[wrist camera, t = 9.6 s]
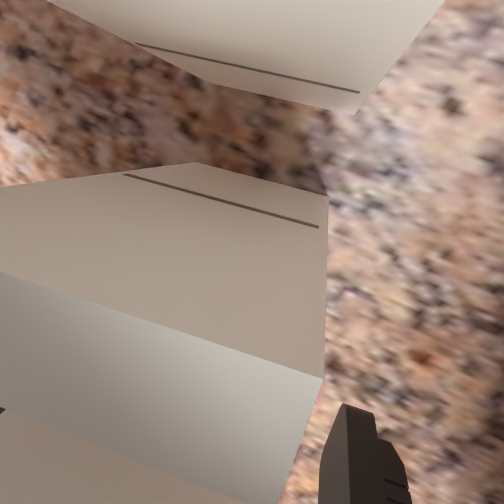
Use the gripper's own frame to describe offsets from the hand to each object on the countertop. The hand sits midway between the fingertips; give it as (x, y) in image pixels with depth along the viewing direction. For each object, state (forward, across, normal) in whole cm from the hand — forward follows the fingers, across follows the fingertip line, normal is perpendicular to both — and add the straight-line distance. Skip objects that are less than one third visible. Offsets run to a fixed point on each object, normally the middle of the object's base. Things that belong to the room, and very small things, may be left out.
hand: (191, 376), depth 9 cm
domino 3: (+5, 0, -4) cm, 6 cm away
